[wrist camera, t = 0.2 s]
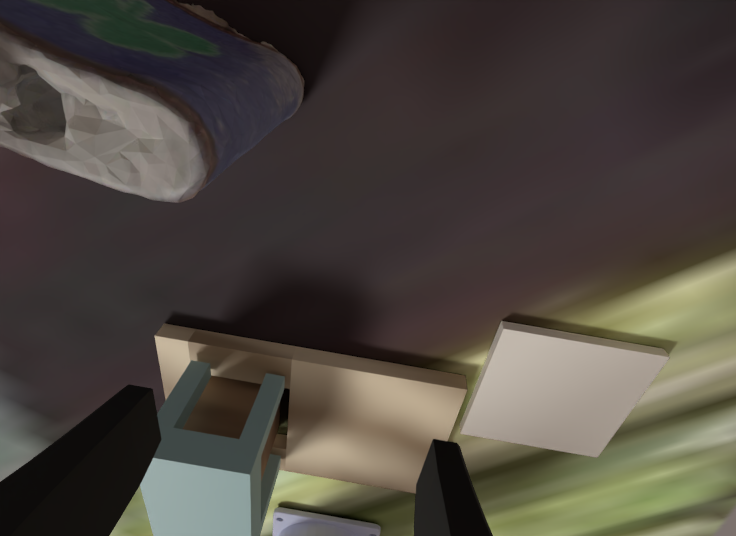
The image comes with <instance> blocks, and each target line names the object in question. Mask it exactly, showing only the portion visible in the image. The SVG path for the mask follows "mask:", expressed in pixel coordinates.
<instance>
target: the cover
mask: <svg viewBox="0 0 736 536" xmlns="http://www.w3.org/2000/svg"><path fill="white" fill-rule="evenodd" d="M210 378H211V368H210V363H205V362H199V361H193V360H191V362H190V363H189V365H188V366H187V368H186V370H185V371H184V373H183V374H182V376H181V377H180V379H179V381H178V382H177V384H176V385H175V387H174V388H173V390H172V392H171V393H170V395H169V396H168V398H167V399H166V401H165V403H164V404H163V406H162V407H161V409H160V410H159V412H158V414H157V417H158V422H159V428H160V433H161V439H162V440H161V442H160V444H159V446H158V448H157V451H156V453H155V455H154V457H153V459H152V462H151V464H150V466H149V468H148V470H147V472H146V474H145V476H144V478H143V480H142V482H141V484H140V487H141V491H142V494H143V498H144V502H145V506H146V509H147V513H148V517H149V521H150V525H151V528H152V532H153V536H260V533H261V530H262V526H263V523H264V519H265V516H266V513H267V509H268V506H269V502H270V499H271V496H272V492H273V489H274V485H275V482H276V479H277V475H278V472H279V468H280V464H281V456H279V455H273V454H270V456H269V459H268V462H267V465H266V468H265V471H264V474H263V477H262V480H261V456H262V453H263V450H264V447H265V444H266V441H267V438H268V435H269V432H270V429H271V426H272V424H273V421H274V418H275V415H276V412H277V409H278V406H279V403H280V400H281V397H282V394H283V391H284V384H285V376H280V375H274V374H268V373H266V375H265V377H264V380H263V382H262V385H261V387H260V390H259V392H258V394H257V397H256V399H255V402H254V404H253V407H252V409H251V412H250V414H249V417H248V419H247V421H246V424H245V426H244V429H243V431H242V434H241V436H240V439H235V438H229V437H224V436H218V435H212V434H206V433H201V432H195V431H189V430H183V427H184V425H185V423H186V421H187V420H188V418H189V416H190V414H191V412H192V411H193V409H194V407H195V405H196V403H197V401H198V400H199V398H200V396H201V394H202V392H203V391H204V389H205V387H206V385H207V383H208V382H209V380H210Z"/></svg>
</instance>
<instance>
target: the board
mask: <svg viewBox="0 0 736 536" xmlns="http://www.w3.org/2000/svg"><path fill="white" fill-rule="evenodd" d="M155 341H156V346H157V352H158V358H159V364H160V370H161V375H162V381H163V387H164V393H165V398H166V399H167V398H168V396H169V395H170V393H171V392H172V390H173V388H174V387H175V385H176V384H177V382H178V381H179V379H180V377H181V376H182V374H183V373H184V371H185V370H186V368H187V366H188V365H189V363H190V362H191V360H193V361H199V362H205V363H210V368H211V375H212V376H218V377H224V378H229V379H235V380H241V381H247V382H252V383H258V384H262V382H263V380H264V377H265V375H266V373H268V374H274V375H280V376H285V384H284V388H287V389H290V397H289V414H288V430H287V435H283V434H276V437H275V440H274V444H273V447H272V450H271V453H270V454H273V455H279V456H281V464H280V468H279V470H284V471H289V472H295V473H301V474H306V475H312V476H318V477H324V478H329V479H335V480H341V481H347V482H352V483H358V484H364V485H369V486H375V487H381V488H387V489H392V490H398V491H404V492H410V493H415V494H416V484H417V481H418V478H419V475H420V473H421V470H422V467H423V465H424V462H425V459H426V456H427V454H428V451H429V448H430V446H431V443H432V440H433V439H437V440H443V441H448V439H449V436H450V433H451V431H452V428H453V426H454V423H455V421H456V418H457V416H458V413H459V410H460V408H461V405H462V403H463V400H464V398H465V395H466V393H467V382H466V376H465V375H459V374H453V373H448V372H442V371H436V370H430V369H424V368H419V367H413V366H407V365H401V364H395V363H390V362H384V361H378V360H372V359H367V358H361V357H355V356H349V355H343V354H338V353H332V352H326V351H320V350H314V349H309V348H303V347H297V346H291V345H286V344H280V343H274V342H268V341H262V340H257V339H251V338H245V337H239V336H233V335H228V334H222V333H216V332H210V331H205V330H199V329H193V328H187V327H181V326H176V325H170V324H164V325H163V326H162V327H161V328H160V330H159V331H158V332H157V333H156V335H155Z"/></svg>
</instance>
